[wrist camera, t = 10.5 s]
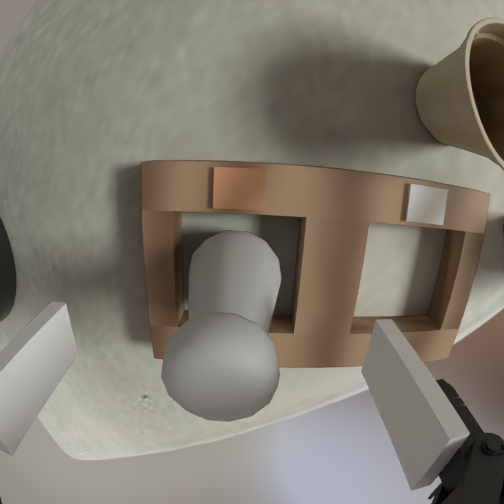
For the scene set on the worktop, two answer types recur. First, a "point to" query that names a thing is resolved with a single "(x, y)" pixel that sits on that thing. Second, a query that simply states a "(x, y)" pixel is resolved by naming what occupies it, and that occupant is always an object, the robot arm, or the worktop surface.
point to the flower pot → (468, 93)
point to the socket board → (314, 249)
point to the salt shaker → (226, 330)
